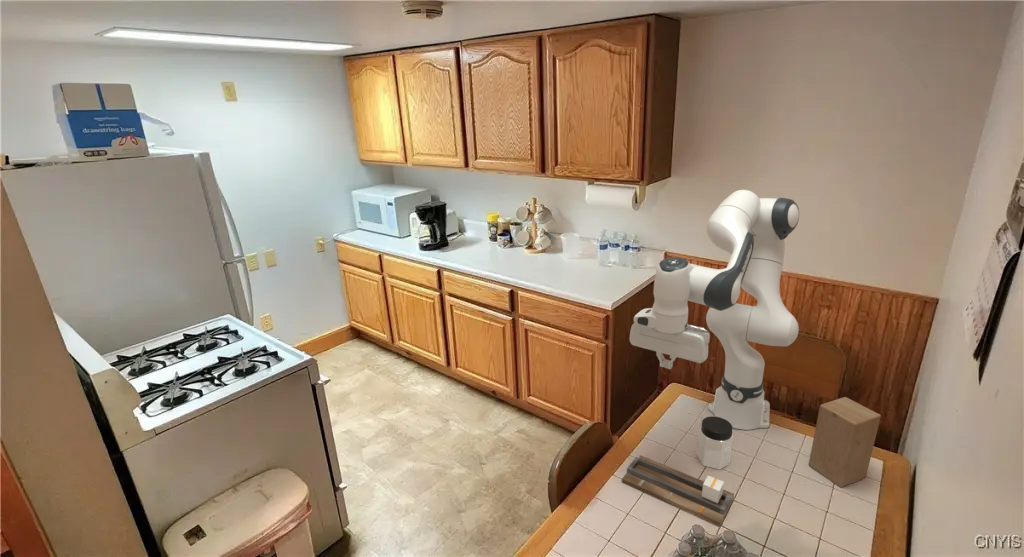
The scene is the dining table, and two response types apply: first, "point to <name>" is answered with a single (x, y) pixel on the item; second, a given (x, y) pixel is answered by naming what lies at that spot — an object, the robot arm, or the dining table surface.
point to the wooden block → (843, 441)
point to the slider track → (676, 489)
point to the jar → (715, 442)
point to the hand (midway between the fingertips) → (666, 367)
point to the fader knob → (712, 489)
